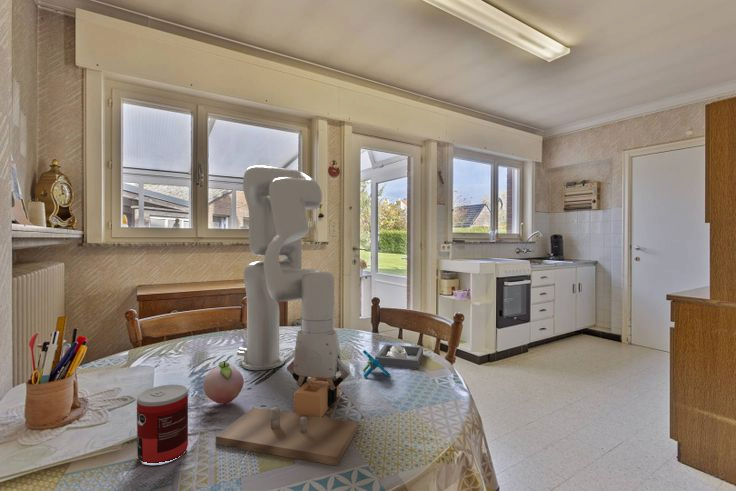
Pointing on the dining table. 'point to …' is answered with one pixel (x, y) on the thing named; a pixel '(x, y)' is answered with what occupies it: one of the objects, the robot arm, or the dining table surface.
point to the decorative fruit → (223, 383)
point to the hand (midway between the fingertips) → (317, 402)
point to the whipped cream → (397, 352)
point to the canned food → (162, 423)
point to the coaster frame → (400, 361)
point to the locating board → (290, 435)
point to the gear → (373, 365)
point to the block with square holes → (312, 397)
